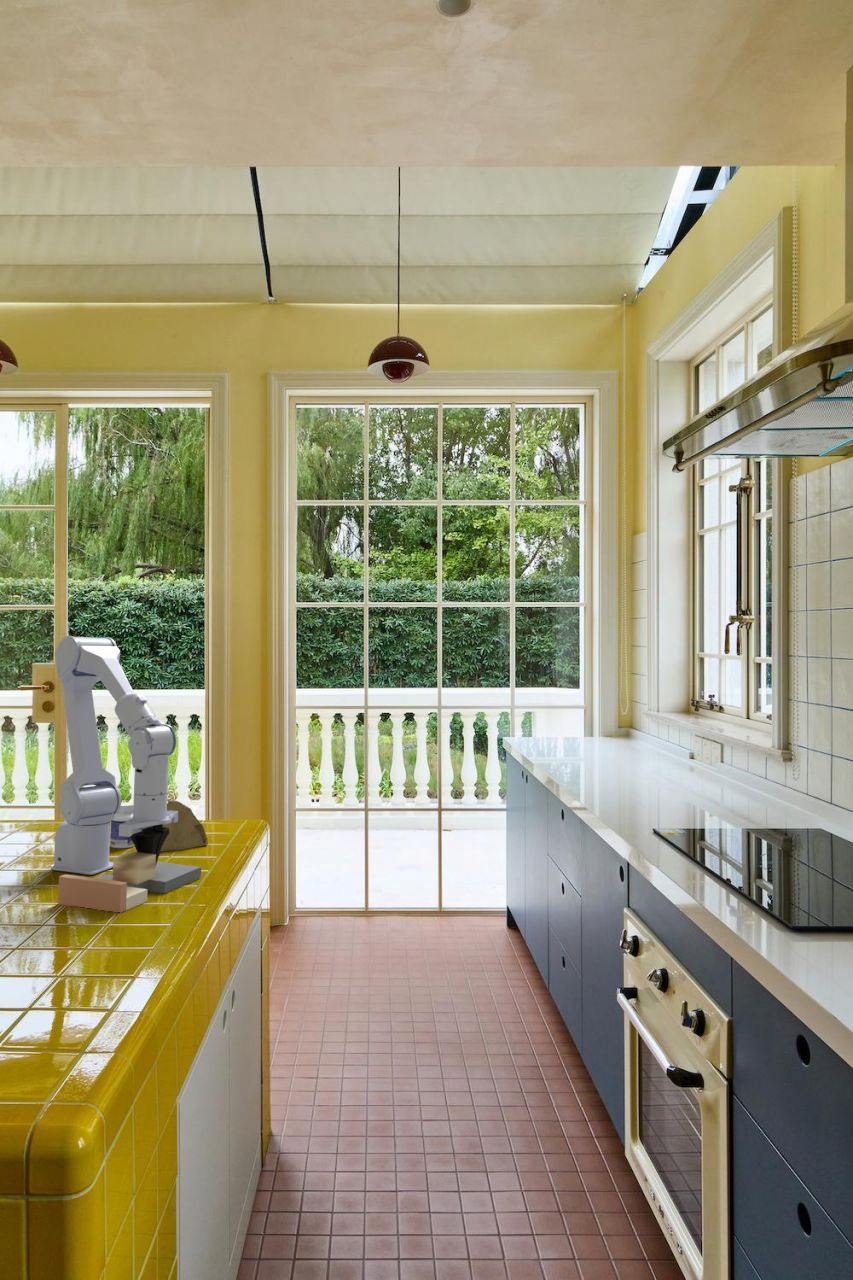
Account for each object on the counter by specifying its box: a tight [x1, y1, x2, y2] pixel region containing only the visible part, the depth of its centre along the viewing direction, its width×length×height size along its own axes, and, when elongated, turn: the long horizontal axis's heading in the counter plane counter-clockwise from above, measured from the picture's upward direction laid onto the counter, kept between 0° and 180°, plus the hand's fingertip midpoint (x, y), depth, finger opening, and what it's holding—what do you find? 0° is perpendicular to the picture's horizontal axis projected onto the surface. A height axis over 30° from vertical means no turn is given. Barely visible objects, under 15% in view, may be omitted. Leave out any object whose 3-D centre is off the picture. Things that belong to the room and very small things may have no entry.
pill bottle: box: [110, 802, 135, 849], centre depth 179 cm, size 5×5×9 cm
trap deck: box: [57, 861, 202, 913], centre depth 146 cm, size 12×23×4 cm, turn 162°
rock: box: [160, 800, 209, 853], centre depth 178 cm, size 11×9×10 cm
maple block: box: [112, 851, 156, 884], centre depth 146 cm, size 5×5×4 cm
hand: (148, 869), depth 150 cm, fingers closed
